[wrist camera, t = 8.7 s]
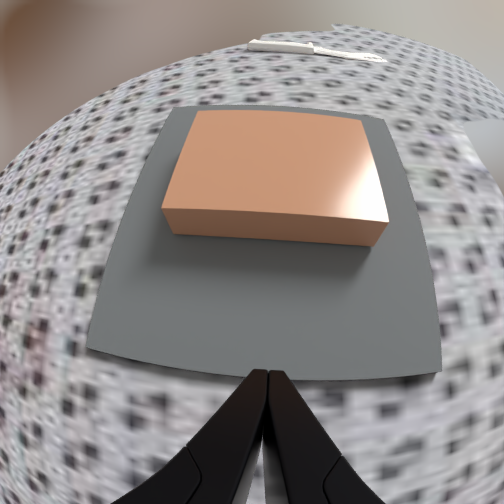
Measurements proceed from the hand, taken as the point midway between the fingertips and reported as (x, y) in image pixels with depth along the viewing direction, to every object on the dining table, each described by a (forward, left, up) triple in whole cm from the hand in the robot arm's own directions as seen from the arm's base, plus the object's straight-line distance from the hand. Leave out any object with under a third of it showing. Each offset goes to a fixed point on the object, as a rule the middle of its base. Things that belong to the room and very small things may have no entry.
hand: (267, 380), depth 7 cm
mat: (+5, +12, -8) cm, 15 cm away
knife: (+27, +40, -8) cm, 49 cm away
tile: (+3, +8, -6) cm, 10 cm away
